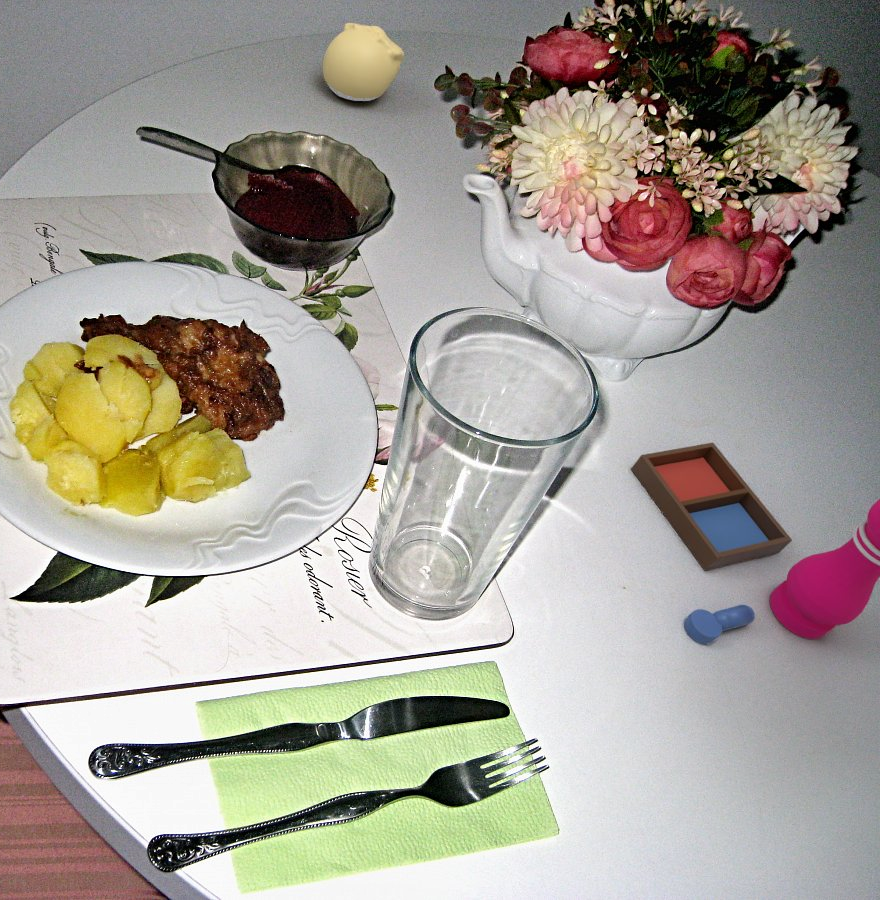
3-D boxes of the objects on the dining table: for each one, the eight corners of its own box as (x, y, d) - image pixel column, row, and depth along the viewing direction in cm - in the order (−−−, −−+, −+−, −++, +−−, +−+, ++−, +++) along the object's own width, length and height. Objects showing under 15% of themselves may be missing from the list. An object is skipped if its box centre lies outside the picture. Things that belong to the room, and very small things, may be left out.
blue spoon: (735, 604, 93) (746, 594, 91) (755, 631, 91) (766, 621, 89) (677, 619, 90) (688, 609, 88) (696, 647, 88) (707, 637, 87)
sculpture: (399, 99, 151) (419, 36, 143) (357, 118, 144) (375, 53, 136) (348, 68, 155) (364, 5, 147) (304, 85, 148) (318, 20, 140)
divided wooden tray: (701, 455, 107) (713, 442, 105) (778, 553, 99) (792, 540, 97) (630, 468, 103) (641, 454, 101) (704, 571, 95) (717, 558, 93)
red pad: (701, 461, 106) (712, 447, 104) (736, 505, 102) (749, 492, 100) (638, 472, 103) (648, 458, 101) (671, 519, 99) (683, 505, 97)
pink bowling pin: (846, 637, 92) (997, 525, 78) (793, 649, 90) (939, 535, 75) (802, 578, 97) (938, 461, 82) (750, 588, 94) (881, 469, 80)
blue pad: (738, 503, 102) (739, 502, 102) (772, 546, 98) (773, 545, 98) (676, 516, 99) (677, 515, 98) (709, 561, 95) (709, 560, 95)
